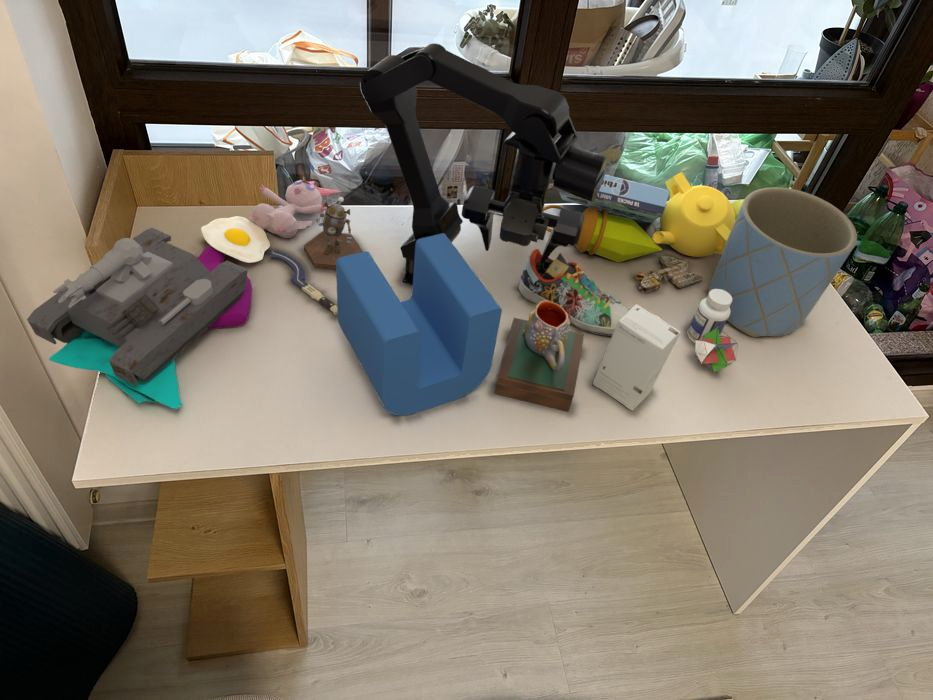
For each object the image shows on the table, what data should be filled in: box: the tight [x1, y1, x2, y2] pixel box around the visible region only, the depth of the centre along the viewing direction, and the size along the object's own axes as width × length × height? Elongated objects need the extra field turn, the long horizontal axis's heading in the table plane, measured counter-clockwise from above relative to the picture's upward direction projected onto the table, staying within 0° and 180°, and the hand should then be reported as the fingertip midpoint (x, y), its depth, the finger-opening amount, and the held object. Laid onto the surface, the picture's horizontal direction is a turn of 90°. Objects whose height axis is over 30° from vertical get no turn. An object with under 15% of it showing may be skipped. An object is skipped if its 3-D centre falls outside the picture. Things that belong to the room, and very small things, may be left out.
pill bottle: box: [686, 289, 732, 344], centre depth 127 cm, size 5×5×10 cm
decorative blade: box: [268, 248, 338, 316], centre depth 130 cm, size 21×1×5 cm
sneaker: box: [517, 248, 630, 337], centre depth 128 cm, size 8×21×10 cm, turn 60°
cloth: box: [48, 330, 183, 410], centre depth 112 cm, size 26×14×2 cm, turn 66°
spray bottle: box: [196, 233, 253, 330], centre depth 126 cm, size 3×11×24 cm
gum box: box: [557, 174, 670, 223], centre depth 143 cm, size 20×5×23 cm
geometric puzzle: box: [693, 327, 739, 374], centre depth 124 cm, size 7×7×8 cm
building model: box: [634, 255, 704, 294], centre depth 140 cm, size 15×9×2 cm, turn 128°
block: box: [335, 233, 503, 416], centre depth 112 cm, size 18×18×18 cm
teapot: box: [652, 171, 735, 258], centre depth 143 cm, size 20×18×11 cm
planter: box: [707, 187, 858, 338], centre depth 130 cm, size 19×19×20 cm
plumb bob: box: [543, 204, 663, 263], centre depth 141 cm, size 9×9×25 cm
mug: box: [523, 300, 571, 371], centre depth 115 cm, size 12×7×7 cm, turn 7°
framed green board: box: [493, 317, 585, 413], centre depth 119 cm, size 12×14×4 cm
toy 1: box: [26, 227, 249, 386], centre depth 111 cm, size 25×20×15 cm
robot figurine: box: [303, 196, 364, 270], centre depth 131 cm, size 11×9×12 cm
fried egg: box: [200, 215, 271, 264], centre depth 132 cm, size 12×12×1 cm
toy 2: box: [248, 179, 343, 239], centre depth 140 cm, size 15×7×20 cm
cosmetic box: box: [592, 303, 682, 411], centre depth 115 cm, size 8×6×15 cm
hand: (514, 256), depth 122 cm, fingers open, 9 cm apart
